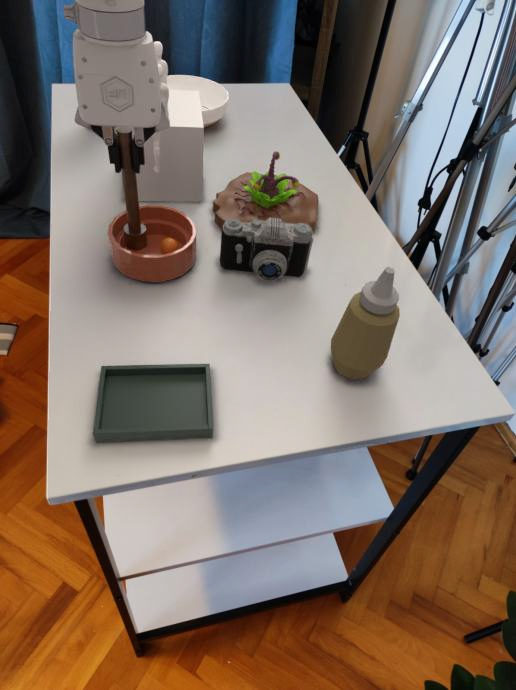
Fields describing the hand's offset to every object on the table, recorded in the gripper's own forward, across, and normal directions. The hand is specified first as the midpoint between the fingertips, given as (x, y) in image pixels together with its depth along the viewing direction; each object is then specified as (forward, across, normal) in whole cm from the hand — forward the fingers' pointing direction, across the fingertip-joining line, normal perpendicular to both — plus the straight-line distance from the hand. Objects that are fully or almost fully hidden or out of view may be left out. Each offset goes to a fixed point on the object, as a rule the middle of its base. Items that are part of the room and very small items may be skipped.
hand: (128, 167), depth 70 cm
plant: (+17, +24, +14) cm, 32 cm away
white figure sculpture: (+17, +4, +22) cm, 28 cm away
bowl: (+17, +9, +51) cm, 54 cm away
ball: (+14, +5, 0) cm, 15 cm away
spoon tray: (+16, +4, -30) cm, 34 cm away
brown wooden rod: (+14, 0, 0) cm, 14 cm away
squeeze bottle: (+17, +32, -24) cm, 43 cm away
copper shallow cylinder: (+16, +3, 0) cm, 17 cm away
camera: (+17, +21, -4) cm, 27 cm away
